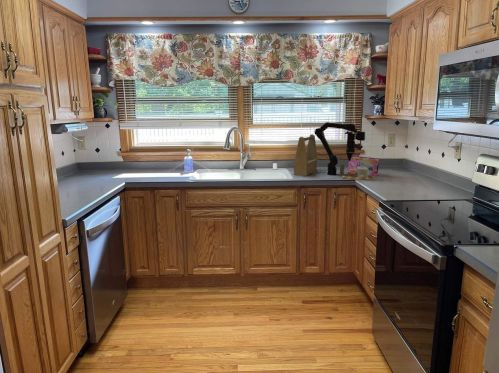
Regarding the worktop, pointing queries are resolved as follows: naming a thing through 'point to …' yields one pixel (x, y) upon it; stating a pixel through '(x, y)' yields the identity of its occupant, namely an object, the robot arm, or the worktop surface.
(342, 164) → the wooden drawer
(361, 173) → the tunnel
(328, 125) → the robot arm
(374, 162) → the gum box
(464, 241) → the worktop surface
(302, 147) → the caddy
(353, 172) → the block
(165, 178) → the worktop surface
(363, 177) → the board
